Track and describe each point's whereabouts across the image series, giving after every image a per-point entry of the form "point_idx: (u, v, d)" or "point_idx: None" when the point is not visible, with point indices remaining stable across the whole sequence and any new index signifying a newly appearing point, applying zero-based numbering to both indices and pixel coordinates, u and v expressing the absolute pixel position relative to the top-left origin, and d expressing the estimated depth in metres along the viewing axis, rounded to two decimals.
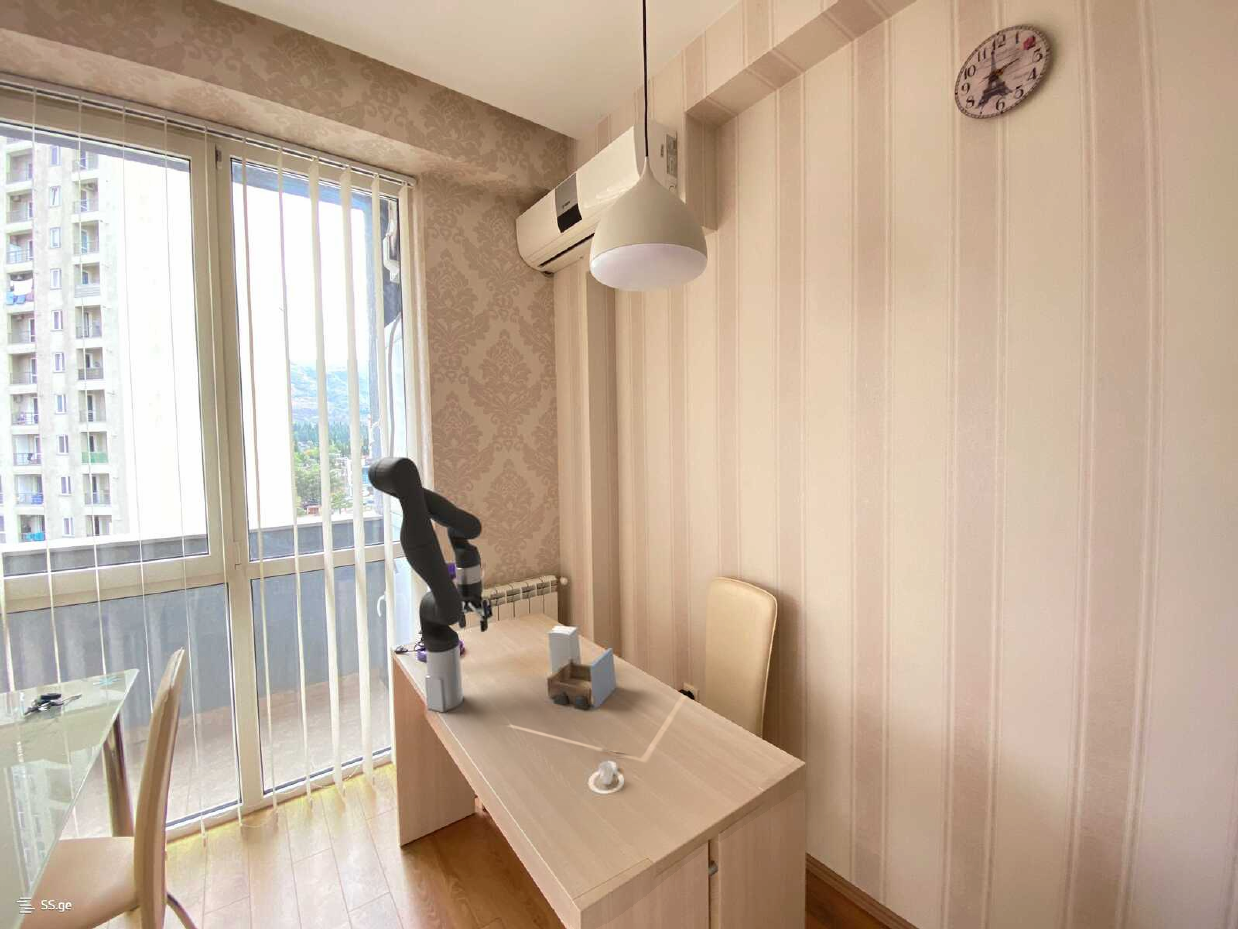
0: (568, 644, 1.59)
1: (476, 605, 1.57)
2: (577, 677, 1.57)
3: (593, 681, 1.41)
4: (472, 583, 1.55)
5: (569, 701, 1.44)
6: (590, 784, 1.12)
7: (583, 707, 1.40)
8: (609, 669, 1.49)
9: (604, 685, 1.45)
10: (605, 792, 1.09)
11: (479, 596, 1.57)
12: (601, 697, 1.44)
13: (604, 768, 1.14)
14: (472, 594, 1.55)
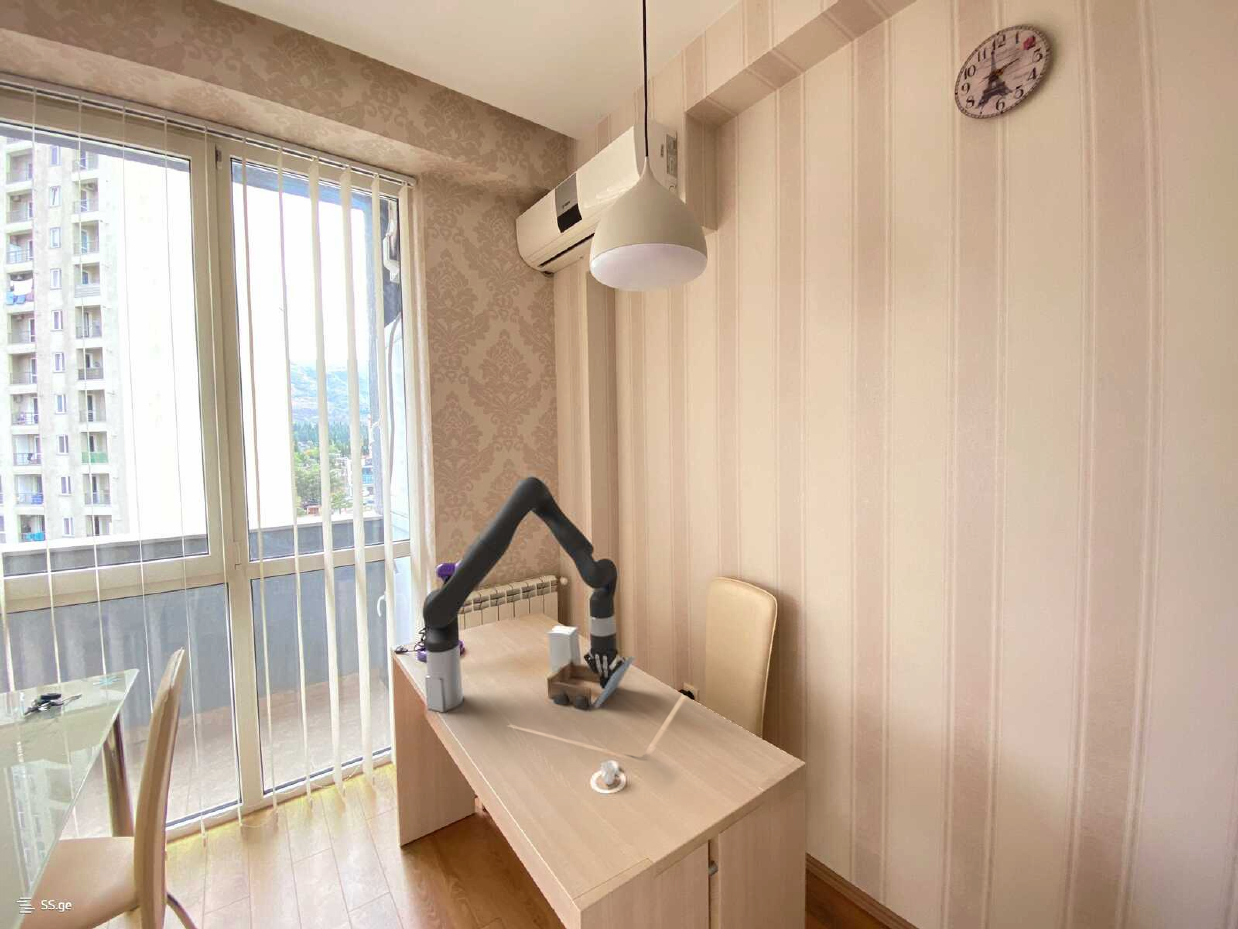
0: (568, 644, 1.59)
1: (612, 658, 1.44)
2: (577, 677, 1.57)
3: (607, 688, 1.39)
4: (610, 634, 1.42)
5: (569, 701, 1.44)
6: (592, 784, 1.12)
7: (583, 707, 1.40)
8: (621, 676, 1.47)
9: (611, 690, 1.44)
10: (607, 792, 1.09)
11: (615, 649, 1.44)
12: (604, 699, 1.43)
13: (606, 768, 1.14)
14: (609, 647, 1.42)
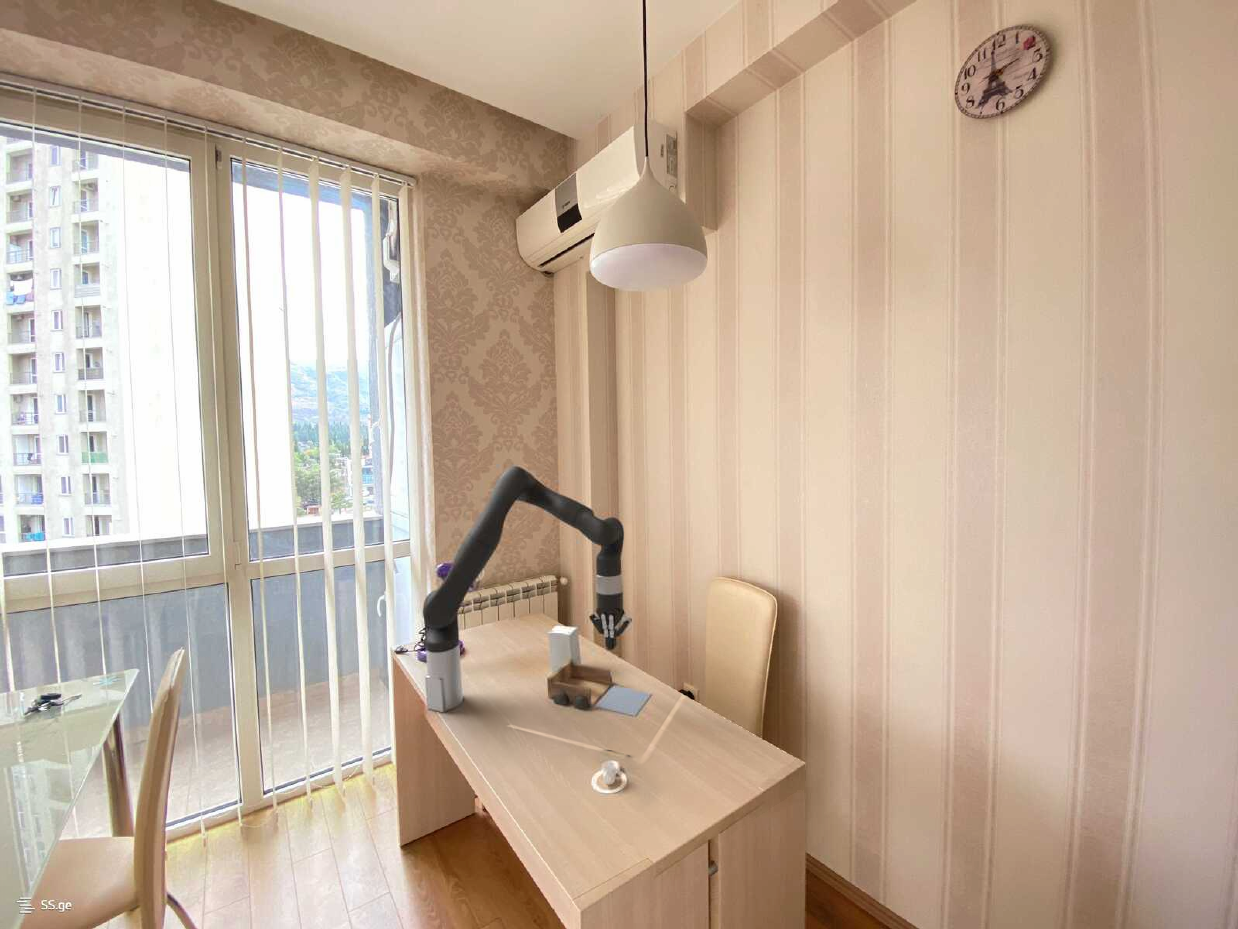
0: (568, 644, 1.59)
1: (618, 618, 1.41)
2: (577, 677, 1.57)
3: None
4: (616, 593, 1.40)
5: (569, 701, 1.44)
6: (593, 784, 1.12)
7: (583, 707, 1.40)
8: None
9: None
10: (608, 792, 1.09)
11: (621, 608, 1.41)
12: None
13: (607, 768, 1.14)
14: (615, 606, 1.40)
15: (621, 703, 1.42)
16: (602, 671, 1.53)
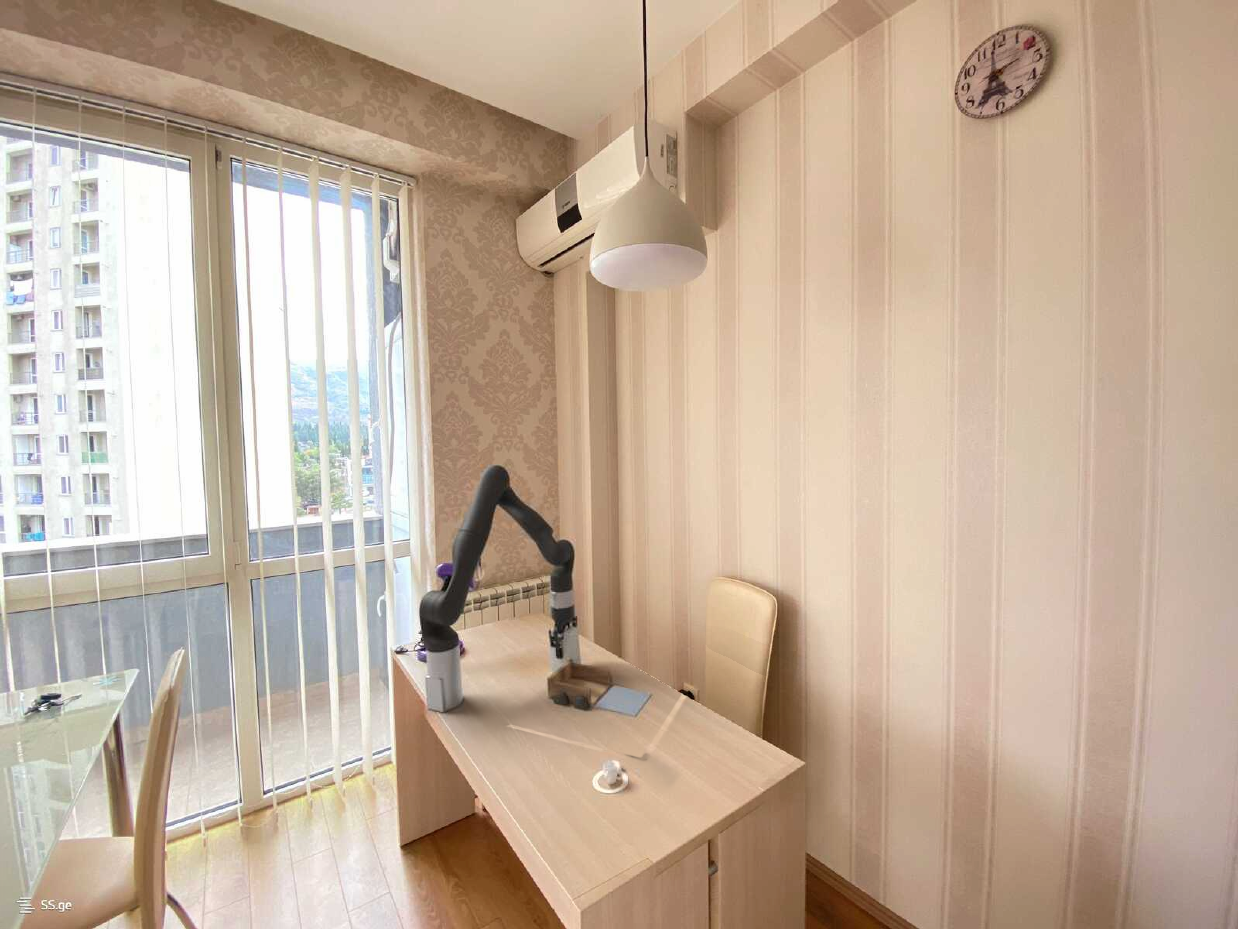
0: (568, 643, 1.59)
1: None
2: (577, 677, 1.57)
3: None
4: (552, 606, 1.60)
5: (569, 701, 1.44)
6: (594, 784, 1.12)
7: (583, 707, 1.40)
8: None
9: None
10: (609, 792, 1.09)
11: (556, 622, 1.59)
12: None
13: (608, 768, 1.14)
14: (551, 617, 1.61)
15: (621, 703, 1.42)
16: (602, 671, 1.53)
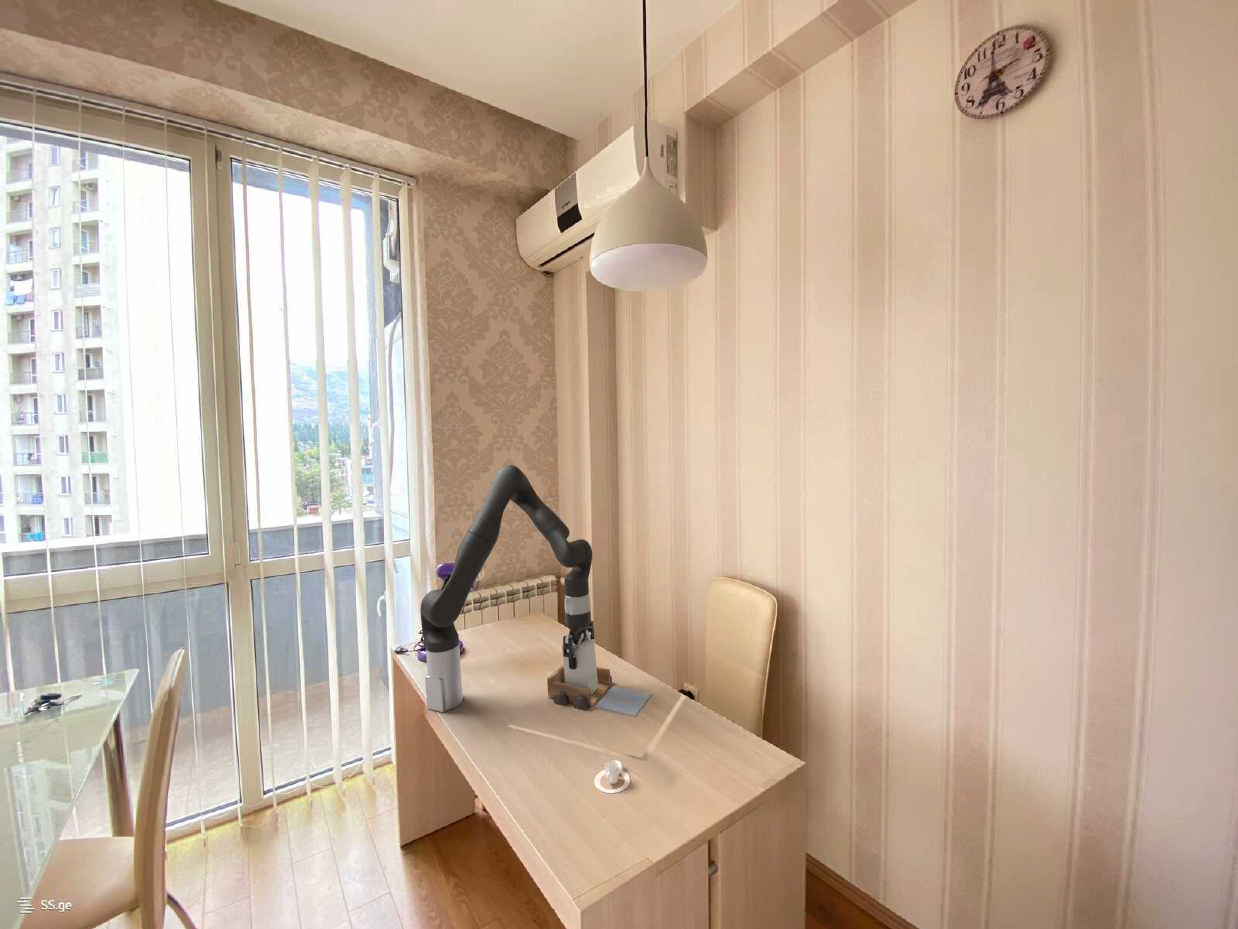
0: (583, 658, 1.45)
1: None
2: None
3: None
4: (566, 612, 1.46)
5: (569, 701, 1.44)
6: (596, 783, 1.12)
7: (583, 707, 1.40)
8: None
9: None
10: (611, 791, 1.10)
11: (571, 630, 1.45)
12: None
13: (610, 767, 1.14)
14: (566, 623, 1.47)
15: (621, 703, 1.42)
16: (602, 671, 1.53)
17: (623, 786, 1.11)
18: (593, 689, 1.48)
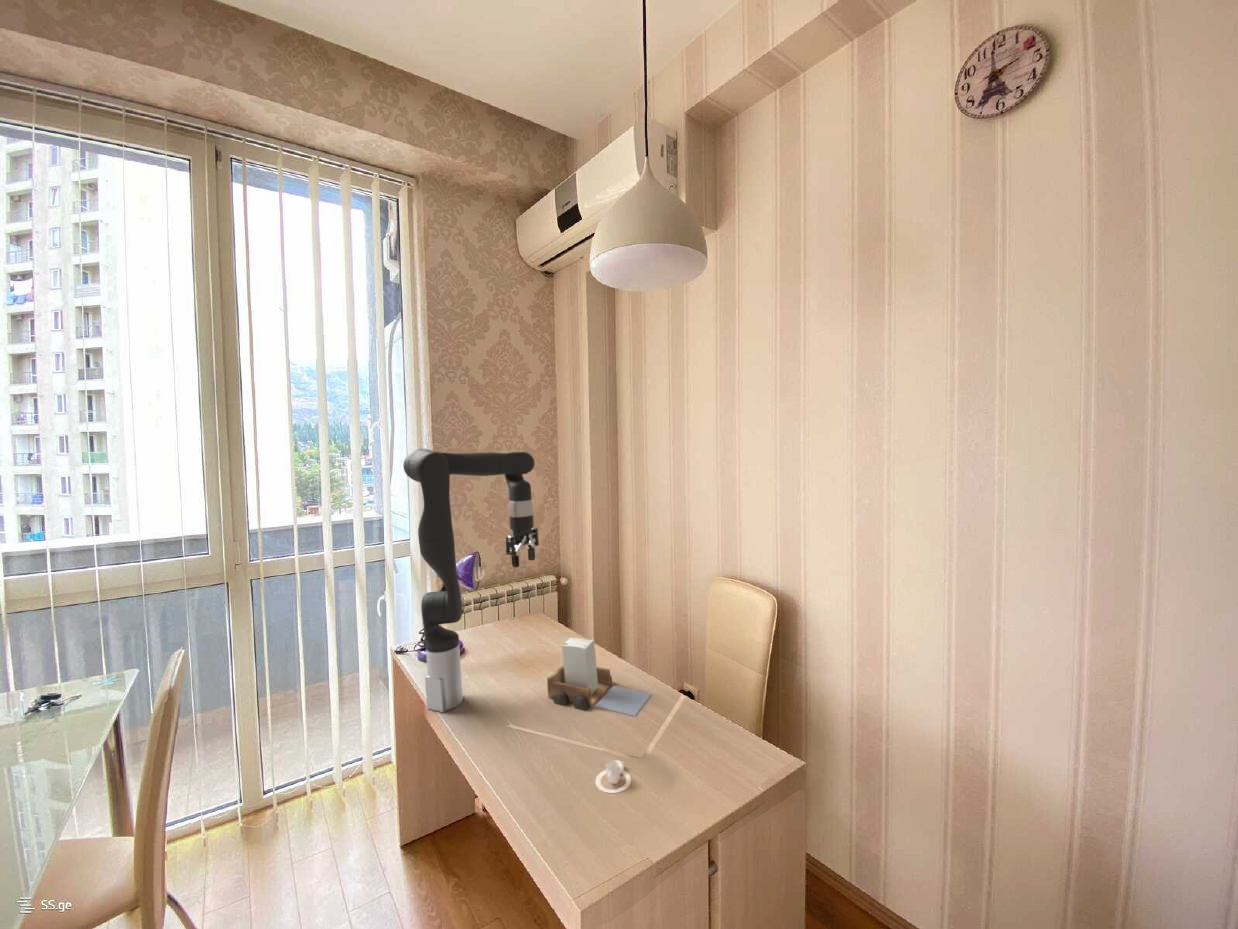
0: (583, 658, 1.45)
1: None
2: None
3: None
4: (510, 516, 1.61)
5: (569, 701, 1.44)
6: (597, 783, 1.12)
7: (583, 707, 1.40)
8: None
9: None
10: (612, 791, 1.10)
11: (514, 531, 1.60)
12: None
13: (611, 767, 1.14)
14: (510, 526, 1.61)
15: (621, 703, 1.42)
16: (602, 671, 1.53)
17: (624, 786, 1.11)
18: (593, 689, 1.48)
